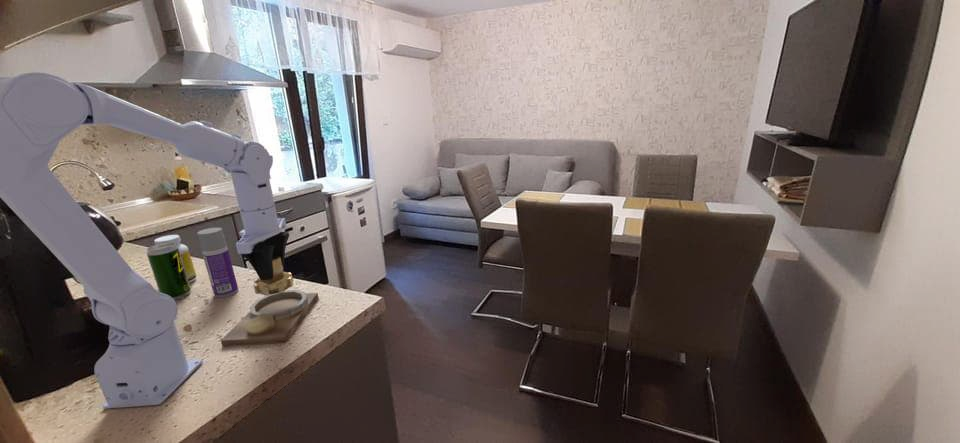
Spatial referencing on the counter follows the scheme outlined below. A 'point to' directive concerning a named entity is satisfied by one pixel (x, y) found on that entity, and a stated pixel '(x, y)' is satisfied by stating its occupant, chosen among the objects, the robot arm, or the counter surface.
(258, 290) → the planet gear
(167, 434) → the counter surface
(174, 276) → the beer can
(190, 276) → the pill bottle
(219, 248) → the container
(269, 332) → the carrier board
